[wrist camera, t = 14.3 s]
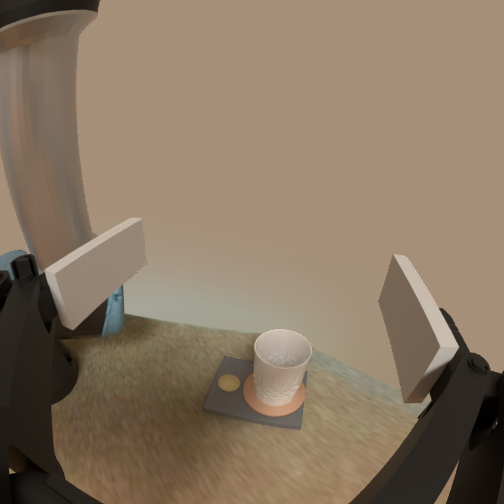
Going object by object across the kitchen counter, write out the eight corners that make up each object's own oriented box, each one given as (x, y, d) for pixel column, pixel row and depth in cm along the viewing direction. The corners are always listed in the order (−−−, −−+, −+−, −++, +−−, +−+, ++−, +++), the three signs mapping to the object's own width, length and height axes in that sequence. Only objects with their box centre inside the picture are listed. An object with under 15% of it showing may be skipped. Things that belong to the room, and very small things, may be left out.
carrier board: (202, 410, 37) (202, 404, 36) (224, 359, 47) (224, 353, 47) (299, 429, 34) (302, 424, 33) (306, 374, 45) (308, 368, 44)
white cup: (266, 417, 35) (274, 376, 30) (241, 382, 41) (243, 338, 37) (308, 396, 38) (323, 354, 34) (281, 366, 44) (290, 322, 40)
